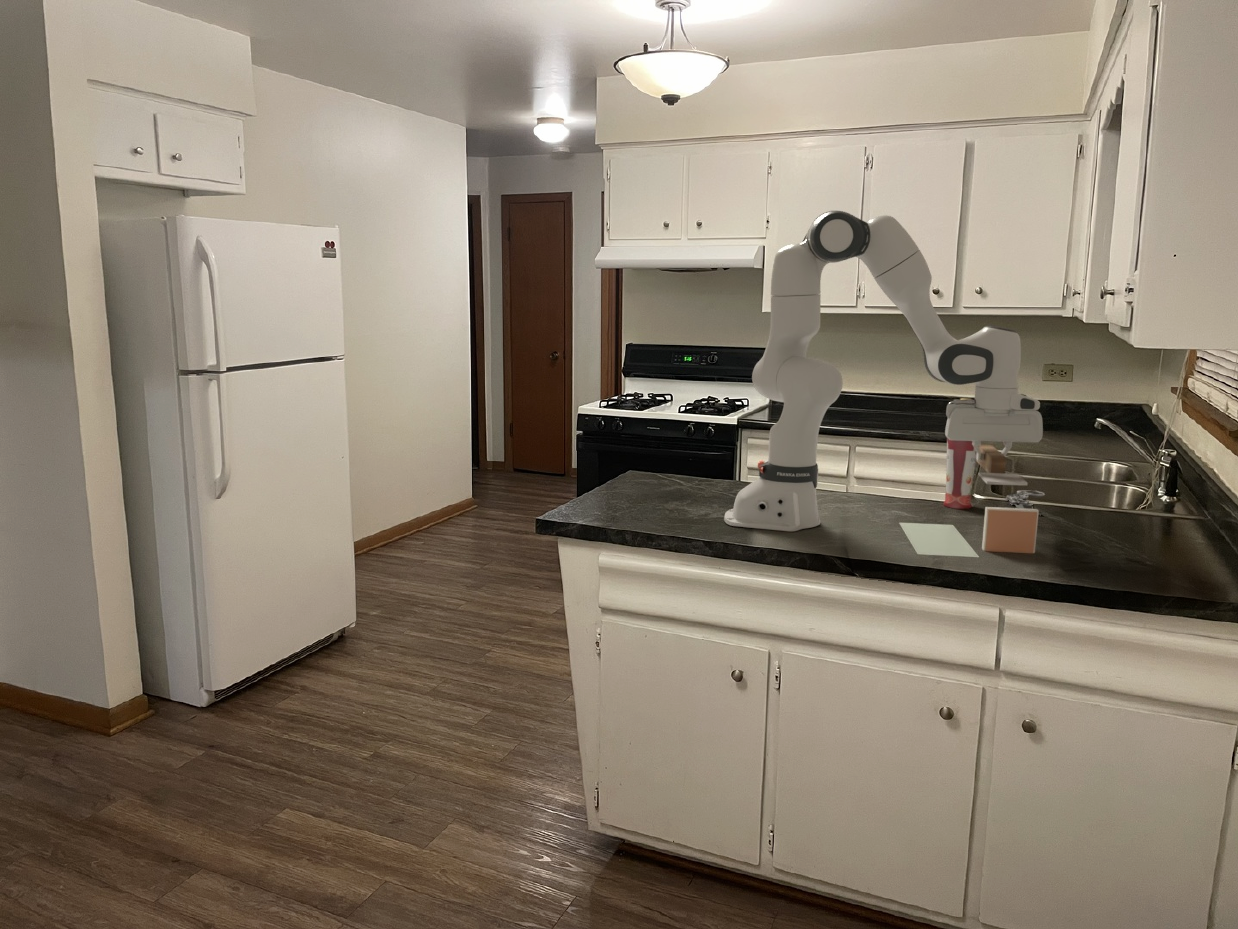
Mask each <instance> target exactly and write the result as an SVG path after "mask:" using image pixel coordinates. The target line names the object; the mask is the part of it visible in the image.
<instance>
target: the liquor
mask: <svg viewBox="0 0 1238 929" xmlns="http://www.w3.org/2000/svg"><path fill="white" fill-rule="evenodd" d="M959 399H960V400H966V399H968V398H962V397H961V398H959ZM976 456H977V452H976V451H975V449H974V447H973V445H972V441H955V440H949V439H948V438H947V437H946V470H945V471H946V476H945V478H946V479H945V493H944V494H945V495H944V496H945V497H944V501H943V503H942V504H943V506H944V507H946V508H949V509H955V510H969V509H971V508H972V507H973V504H972V500H971V499H972V492H973V491H972V490H973V482H974V475H975V467H976V462H977V461H976Z"/></svg>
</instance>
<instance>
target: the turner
mask: <svg viewBox="0 0 1238 929" xmlns="http://www.w3.org/2000/svg"><path fill="white" fill-rule="evenodd" d="M978 447H979V449H980V451H981V452H984V453H985V457H984V458H985V461H977V459H976V462H977V464H978V465H980V467H981V468H982V469H983V470H985V472H978V476H979V477H980V478H981V480H982V481H983V482H984V483H985V484H986V485H994V486H995V485H997V486H998V485H999V486H1000V485H1001V486H1002V485H1003V486H1028V482H1027V481H1026V480H1025V479H1024V478H1023V477H1021V476H1020V475H1019V474H1018V473H1010V472H1008V473H1007V472H1006V467H1007V460H1008V459H1007V456H1006V457H1005V456H1004V455H1002V454H1001V452H1000V451H999V450H998V449H997V448H995V447H994V446H993V445H992V444H982V443H981V446H978Z"/></svg>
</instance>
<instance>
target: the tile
mask: <svg viewBox="0 0 1238 929" xmlns="http://www.w3.org/2000/svg"><path fill="white" fill-rule="evenodd" d="M1039 513H1040V510H1039V509H1037V508H1033V509H1025V508H1016V507H998V506H997V507H996V506H994V507H993V506H985V508H984V519H983V529H982V530H983V531H982V543H981V550H982V551H984V552H997V553H998V552H1001V553H1019V554H1020V553H1021V554H1035V553H1036V542H1037V534H1038V533H1037V532H1038V524H1039V523H1038V522H1039V515H1038V514H1039Z"/></svg>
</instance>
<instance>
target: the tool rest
mask: <svg viewBox="0 0 1238 929" xmlns="http://www.w3.org/2000/svg"><path fill="white" fill-rule="evenodd" d="M898 524H899V525H900V527H901V528H902V530H903V532H904V533H905V535H906V538H907V539H908V541H909V542H910V544H911V546H912V547H913V549H914V550H915V552H916V554H917V555H920V556H921V555H926V556H941V557H942V556H943V557H945V556H946V557H966V558H980V556H979V555H978V554H977V552H976V551H975V550H974V549H973V547H972V546H971V545H970V544H969V543H968V541H967V540H966V539H965V538H964V537H963V535H962V534H961V533H960V532H959V531H958V529H957V528H956V527H955V526H954V525H953V524H939V523H917V522H916V523H914V522H899V523H898Z"/></svg>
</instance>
